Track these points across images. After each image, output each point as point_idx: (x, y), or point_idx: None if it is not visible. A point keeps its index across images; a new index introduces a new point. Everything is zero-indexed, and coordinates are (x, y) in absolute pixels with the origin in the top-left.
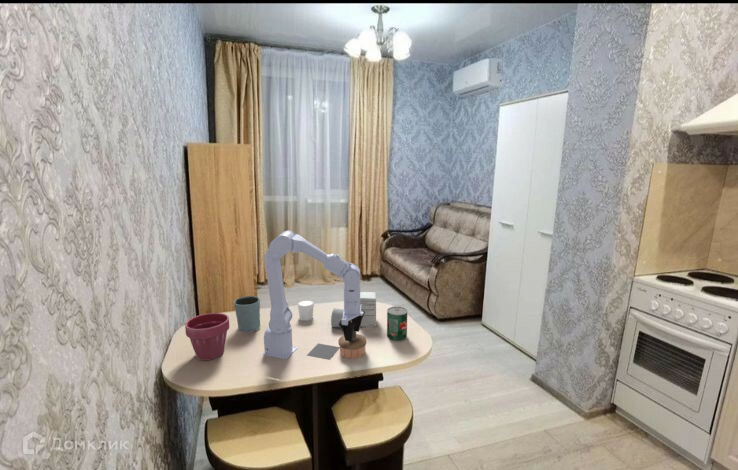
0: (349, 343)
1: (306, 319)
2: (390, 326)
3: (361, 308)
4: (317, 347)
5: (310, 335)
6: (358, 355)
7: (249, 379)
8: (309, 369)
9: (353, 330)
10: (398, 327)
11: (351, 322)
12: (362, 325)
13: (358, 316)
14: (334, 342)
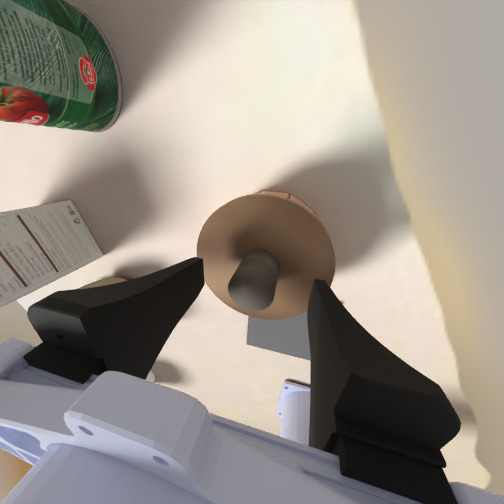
0: (293, 274)
1: (149, 374)
2: (39, 78)
3: (3, 351)
4: (269, 343)
5: (209, 359)
6: (312, 212)
7: (448, 447)
8: (400, 347)
9: (203, 284)
10: None
11: (105, 283)
12: (94, 245)
13: (128, 329)
14: (222, 305)
